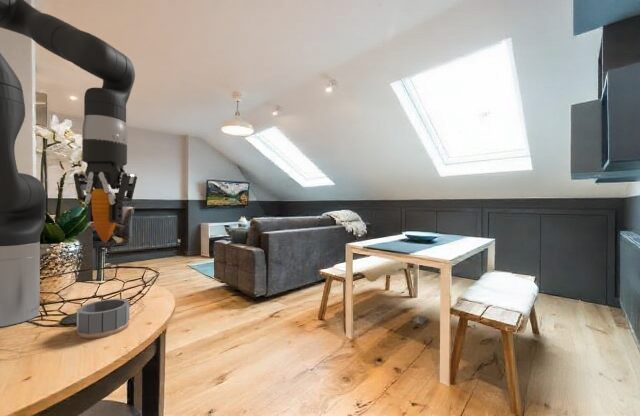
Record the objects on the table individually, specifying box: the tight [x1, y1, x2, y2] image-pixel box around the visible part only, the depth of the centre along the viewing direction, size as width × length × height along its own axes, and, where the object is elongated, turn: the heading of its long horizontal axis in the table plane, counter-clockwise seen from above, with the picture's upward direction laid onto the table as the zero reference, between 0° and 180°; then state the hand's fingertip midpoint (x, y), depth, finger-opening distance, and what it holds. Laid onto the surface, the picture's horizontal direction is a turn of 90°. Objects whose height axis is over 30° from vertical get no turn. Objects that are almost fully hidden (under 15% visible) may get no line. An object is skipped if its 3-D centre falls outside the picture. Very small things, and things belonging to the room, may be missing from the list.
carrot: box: [91, 175, 117, 243], centre depth 59 cm, size 5×5×15 cm
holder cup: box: [76, 298, 131, 340], centre depth 59 cm, size 9×9×5 cm
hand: (104, 221), depth 59 cm, fingers closed on carrot, 4 cm apart
